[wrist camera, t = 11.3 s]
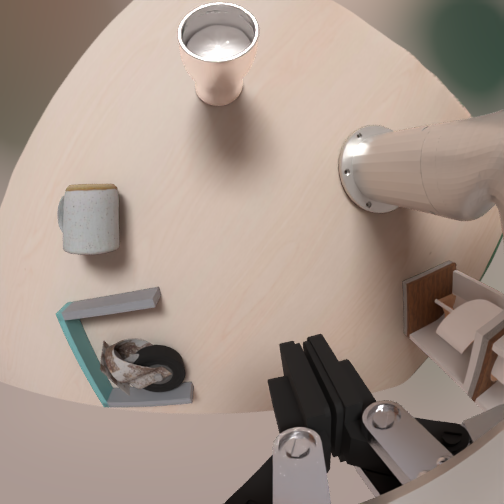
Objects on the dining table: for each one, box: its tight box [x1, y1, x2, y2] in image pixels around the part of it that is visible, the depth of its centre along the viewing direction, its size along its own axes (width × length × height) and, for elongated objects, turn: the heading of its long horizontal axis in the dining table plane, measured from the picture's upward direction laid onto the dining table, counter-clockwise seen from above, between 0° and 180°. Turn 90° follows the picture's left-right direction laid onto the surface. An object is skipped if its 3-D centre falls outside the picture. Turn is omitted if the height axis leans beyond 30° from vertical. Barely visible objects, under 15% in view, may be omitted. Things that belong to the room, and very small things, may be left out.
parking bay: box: [56, 287, 194, 407], centre depth 37 cm, size 16×18×4 cm
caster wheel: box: [100, 338, 185, 396], centre depth 37 cm, size 7×11×10 cm
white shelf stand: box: [403, 261, 504, 412], centre depth 26 cm, size 11×11×35 cm
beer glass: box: [177, 2, 259, 106], centre depth 24 cm, size 7×7×15 cm
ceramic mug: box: [58, 184, 119, 255], centre depth 30 cm, size 11×8×8 cm
